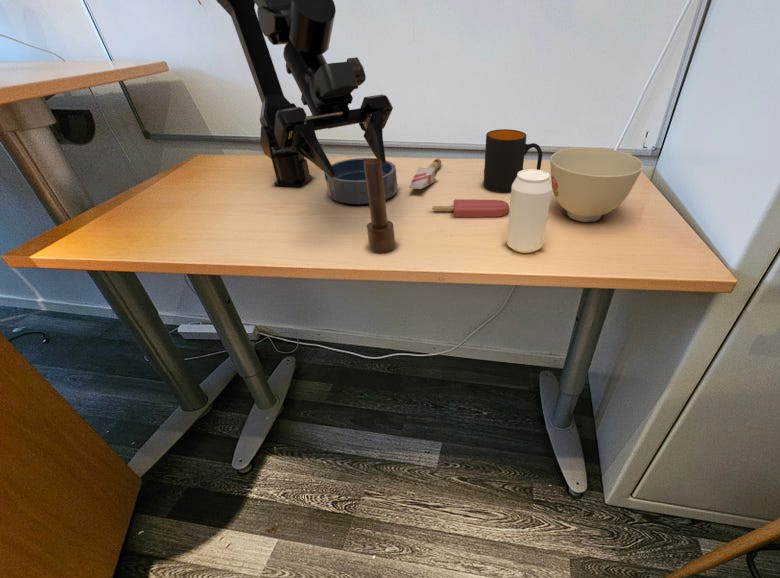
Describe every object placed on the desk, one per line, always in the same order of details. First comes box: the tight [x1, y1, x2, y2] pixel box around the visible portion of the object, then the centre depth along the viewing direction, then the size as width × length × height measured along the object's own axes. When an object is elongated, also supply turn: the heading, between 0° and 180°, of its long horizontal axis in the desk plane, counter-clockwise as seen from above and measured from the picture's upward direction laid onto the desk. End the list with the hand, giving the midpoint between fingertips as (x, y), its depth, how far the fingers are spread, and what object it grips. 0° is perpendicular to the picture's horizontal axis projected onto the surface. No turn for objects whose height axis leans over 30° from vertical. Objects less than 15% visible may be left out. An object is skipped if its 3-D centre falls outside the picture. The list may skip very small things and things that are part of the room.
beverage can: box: [506, 168, 553, 254], centre depth 67 cm, size 6×6×12 cm
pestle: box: [364, 157, 396, 254], centre depth 66 cm, size 4×4×14 cm
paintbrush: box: [408, 158, 442, 190], centre depth 94 cm, size 4×3×20 cm
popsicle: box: [432, 198, 510, 218], centre depth 81 cm, size 5×2×15 cm
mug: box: [483, 128, 543, 194], centre depth 88 cm, size 8×12×10 cm
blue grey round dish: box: [323, 157, 398, 205], centre depth 88 cm, size 15×15×5 cm
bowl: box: [549, 147, 644, 223], centre depth 77 cm, size 16×16×10 cm
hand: (359, 170), depth 66 cm, fingers open, 9 cm apart
